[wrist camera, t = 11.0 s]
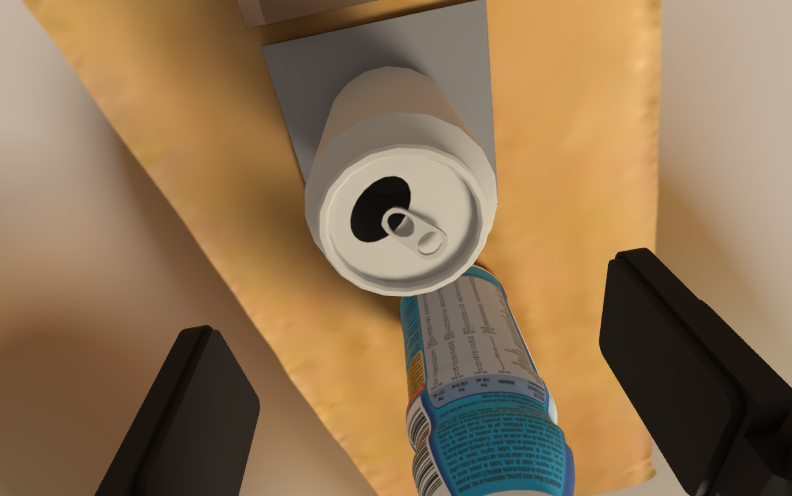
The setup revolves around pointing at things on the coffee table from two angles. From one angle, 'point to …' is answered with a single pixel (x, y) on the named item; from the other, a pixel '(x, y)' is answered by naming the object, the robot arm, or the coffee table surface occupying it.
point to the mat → (378, 47)
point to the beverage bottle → (478, 397)
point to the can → (399, 186)
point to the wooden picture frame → (287, 9)
